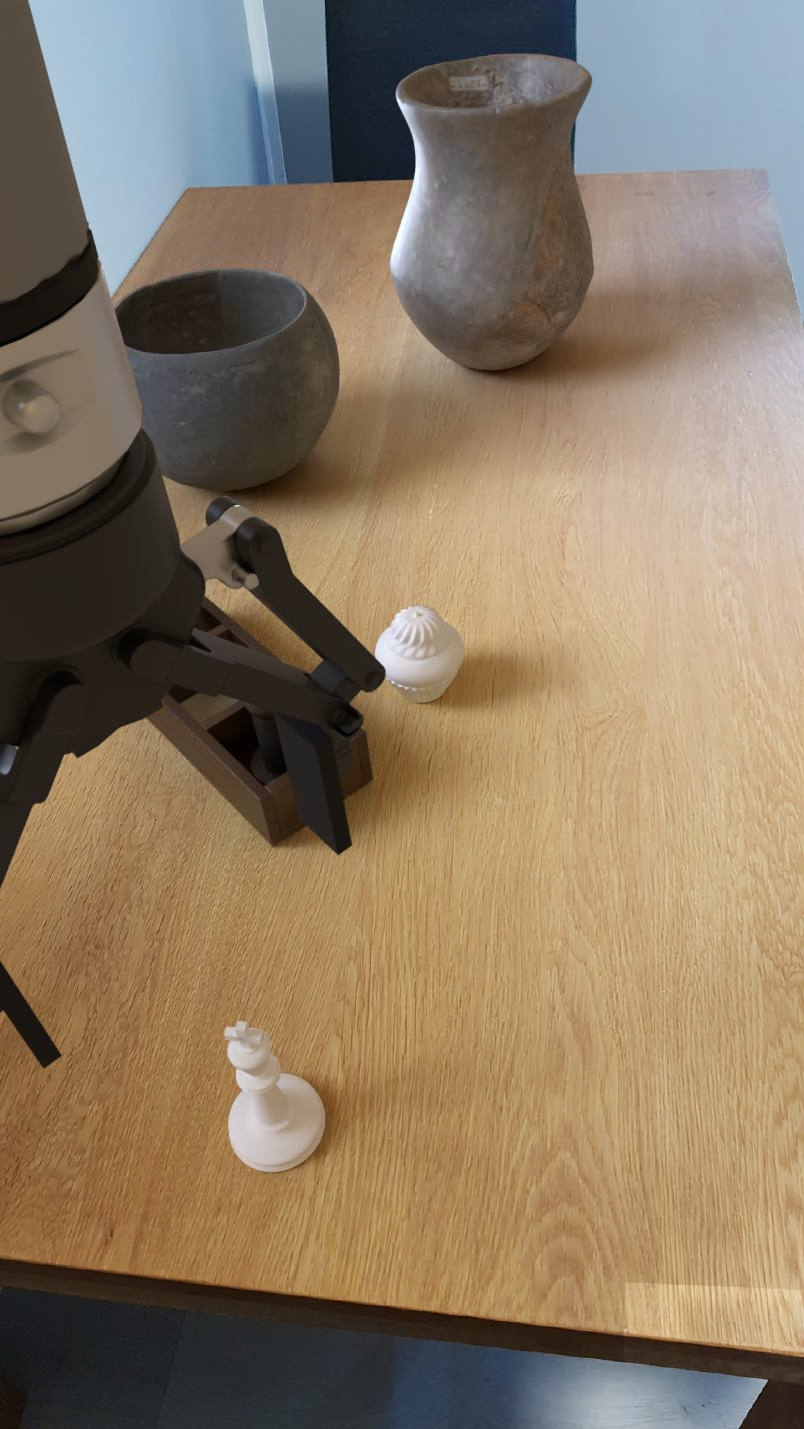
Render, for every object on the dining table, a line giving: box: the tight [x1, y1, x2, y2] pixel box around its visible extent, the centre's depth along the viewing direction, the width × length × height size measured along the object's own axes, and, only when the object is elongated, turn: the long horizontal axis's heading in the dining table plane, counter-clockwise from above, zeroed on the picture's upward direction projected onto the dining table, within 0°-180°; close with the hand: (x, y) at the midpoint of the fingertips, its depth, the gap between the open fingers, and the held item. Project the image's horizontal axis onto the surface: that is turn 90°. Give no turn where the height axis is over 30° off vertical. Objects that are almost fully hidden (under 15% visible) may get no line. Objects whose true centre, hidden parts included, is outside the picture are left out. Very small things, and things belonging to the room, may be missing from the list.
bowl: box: [113, 267, 341, 492], centre depth 93 cm, size 20×20×15 cm
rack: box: [145, 595, 374, 848], centre depth 74 cm, size 8×23×5 cm, turn 40°
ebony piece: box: [243, 702, 287, 786], centre depth 67 cm, size 4×4×9 cm
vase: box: [389, 53, 595, 371], centre depth 101 cm, size 20×19×25 cm
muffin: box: [374, 604, 465, 704], centre depth 74 cm, size 6×6×7 cm
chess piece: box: [223, 1020, 327, 1173], centre depth 51 cm, size 5×5×10 cm
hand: (190, 928), depth 42 cm, fingers open, 13 cm apart
